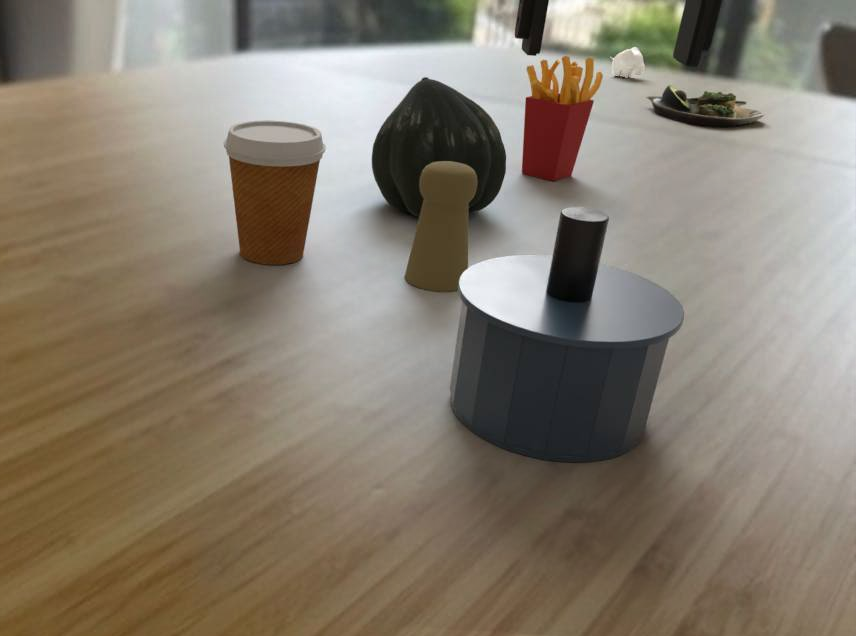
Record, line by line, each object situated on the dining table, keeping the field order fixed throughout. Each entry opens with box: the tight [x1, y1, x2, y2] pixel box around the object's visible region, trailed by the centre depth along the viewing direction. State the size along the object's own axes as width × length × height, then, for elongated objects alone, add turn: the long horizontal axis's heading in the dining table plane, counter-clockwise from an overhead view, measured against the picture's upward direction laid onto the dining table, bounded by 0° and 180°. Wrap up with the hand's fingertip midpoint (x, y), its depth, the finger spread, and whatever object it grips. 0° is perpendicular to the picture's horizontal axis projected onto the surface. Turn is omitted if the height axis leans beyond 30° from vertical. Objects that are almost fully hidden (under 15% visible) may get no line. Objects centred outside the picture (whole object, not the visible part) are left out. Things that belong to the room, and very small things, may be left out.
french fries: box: [521, 55, 604, 182], centre depth 119 cm, size 9×8×15 cm
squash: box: [371, 76, 507, 218], centre depth 102 cm, size 14×15×15 cm
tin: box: [449, 300, 670, 463], centre depth 63 cm, size 14×14×8 cm
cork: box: [404, 161, 478, 293], centre depth 83 cm, size 6×6×11 cm
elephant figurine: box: [611, 46, 646, 79], centre depth 193 cm, size 7×8×6 cm
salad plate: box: [645, 84, 764, 128], centre depth 161 cm, size 19×18×5 cm
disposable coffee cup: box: [223, 120, 327, 266], centre depth 87 cm, size 10×10×12 cm
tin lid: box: [457, 206, 685, 349], centre depth 59 cm, size 15×15×7 cm
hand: (607, 57), depth 57 cm, fingers open, 9 cm apart
